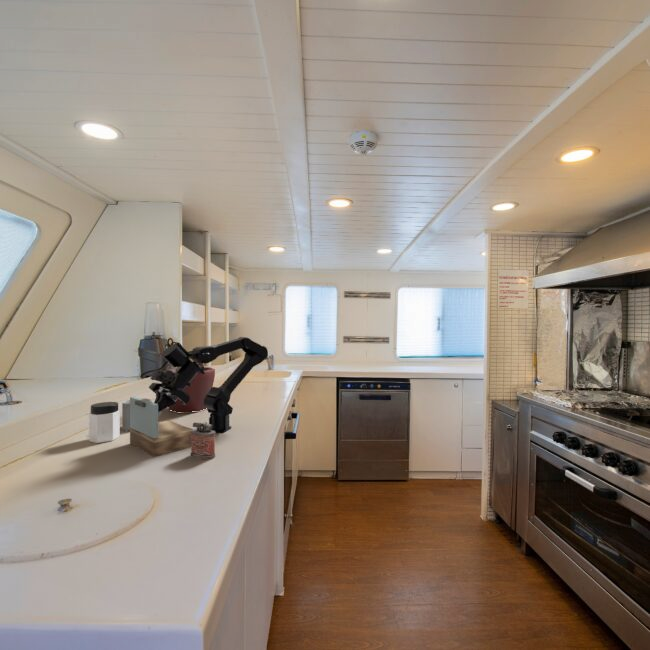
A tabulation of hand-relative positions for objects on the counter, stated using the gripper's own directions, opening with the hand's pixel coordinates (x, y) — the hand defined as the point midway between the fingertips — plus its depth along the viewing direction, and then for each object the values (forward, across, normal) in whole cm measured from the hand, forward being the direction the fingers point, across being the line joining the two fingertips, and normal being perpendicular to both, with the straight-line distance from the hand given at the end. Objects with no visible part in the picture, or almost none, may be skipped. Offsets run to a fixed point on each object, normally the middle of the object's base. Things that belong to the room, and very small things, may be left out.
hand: (150, 414), depth 113 cm
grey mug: (+2, -27, +14) cm, 30 cm away
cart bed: (+5, 0, +10) cm, 11 cm away
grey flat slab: (+6, 0, +2) cm, 6 cm away
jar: (+12, -21, +3) cm, 24 cm away
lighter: (+3, +20, +12) cm, 24 cm away
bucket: (-17, -41, +32) cm, 55 cm away
